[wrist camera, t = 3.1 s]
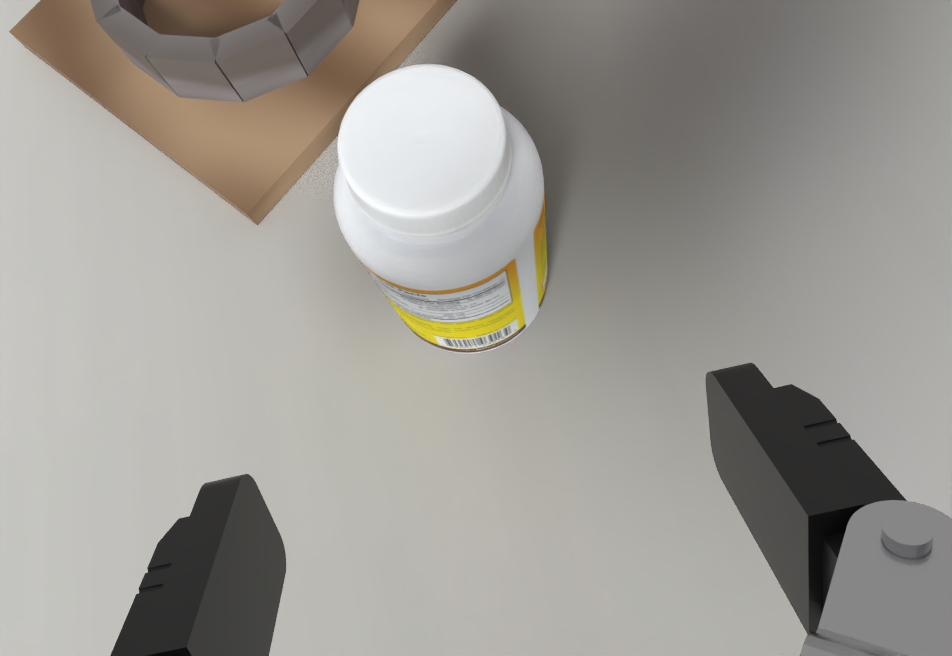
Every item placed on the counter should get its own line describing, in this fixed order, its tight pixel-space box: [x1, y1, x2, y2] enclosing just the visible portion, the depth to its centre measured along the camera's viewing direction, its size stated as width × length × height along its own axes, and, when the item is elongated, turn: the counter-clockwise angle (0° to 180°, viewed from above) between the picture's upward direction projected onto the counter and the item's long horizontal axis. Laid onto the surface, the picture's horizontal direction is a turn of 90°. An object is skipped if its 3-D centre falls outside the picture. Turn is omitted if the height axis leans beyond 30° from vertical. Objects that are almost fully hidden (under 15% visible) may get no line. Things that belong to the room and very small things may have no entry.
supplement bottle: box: [334, 64, 548, 354], centre depth 22 cm, size 6×6×10 cm
